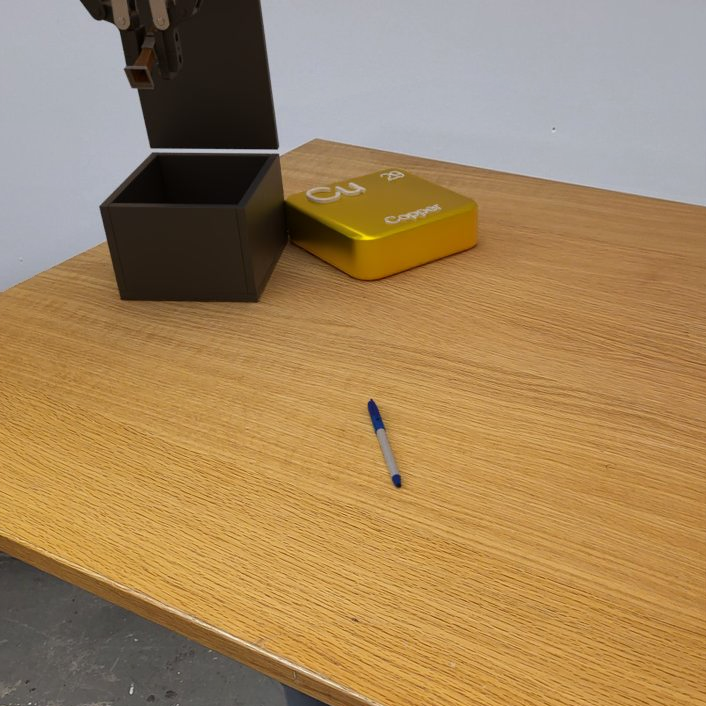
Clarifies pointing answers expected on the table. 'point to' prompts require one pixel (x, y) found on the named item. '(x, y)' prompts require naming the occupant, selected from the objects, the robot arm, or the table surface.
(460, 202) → the element tile
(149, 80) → the brown grey angular piece
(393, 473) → the ballpoint pen
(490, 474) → the table surface
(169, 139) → the box lid
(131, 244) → the open black box
